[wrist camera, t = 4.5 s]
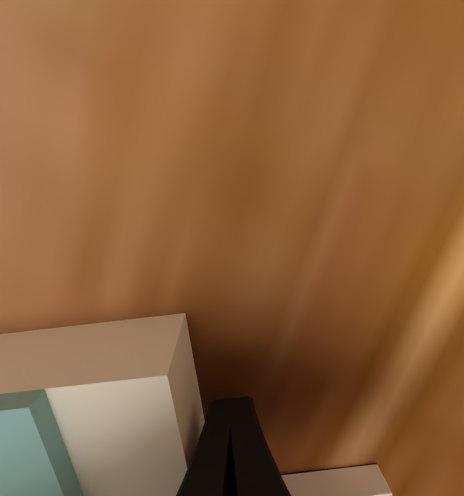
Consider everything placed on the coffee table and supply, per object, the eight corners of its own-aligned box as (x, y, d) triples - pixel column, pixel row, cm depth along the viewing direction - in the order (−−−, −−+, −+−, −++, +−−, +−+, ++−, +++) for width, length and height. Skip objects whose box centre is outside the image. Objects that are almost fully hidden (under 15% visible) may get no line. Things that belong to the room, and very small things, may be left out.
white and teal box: (210, 446, 11) (203, 575, 7) (9, 468, 11) (-91, 605, 7) (186, 309, 9) (162, 392, 6) (-52, 336, 9) (-216, 434, 6)
